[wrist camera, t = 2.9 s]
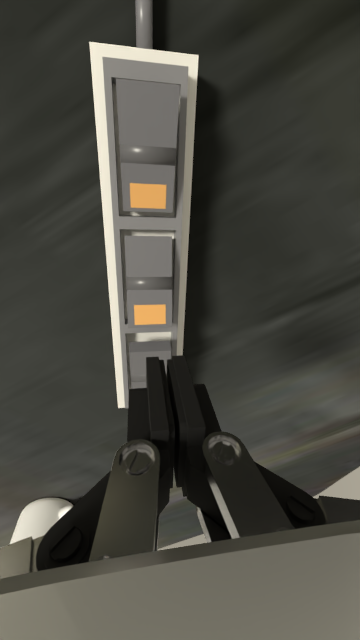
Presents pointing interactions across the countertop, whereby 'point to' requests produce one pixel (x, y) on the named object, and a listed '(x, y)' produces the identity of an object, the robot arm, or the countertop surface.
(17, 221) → the countertop surface
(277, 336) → the countertop surface
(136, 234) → the power strip
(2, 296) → the countertop surface
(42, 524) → the mug
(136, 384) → the rocker
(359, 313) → the countertop surface
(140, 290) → the rocker
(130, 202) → the rocker
